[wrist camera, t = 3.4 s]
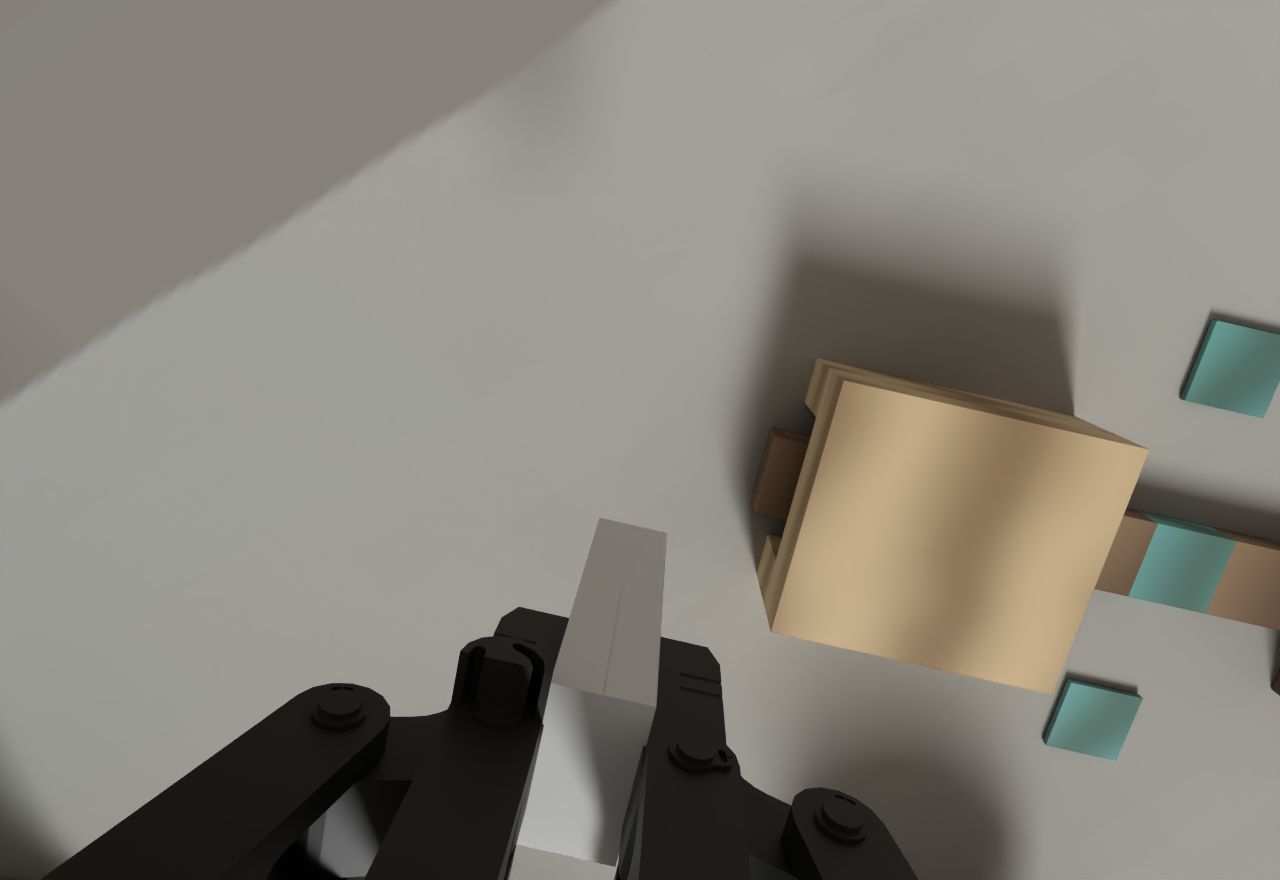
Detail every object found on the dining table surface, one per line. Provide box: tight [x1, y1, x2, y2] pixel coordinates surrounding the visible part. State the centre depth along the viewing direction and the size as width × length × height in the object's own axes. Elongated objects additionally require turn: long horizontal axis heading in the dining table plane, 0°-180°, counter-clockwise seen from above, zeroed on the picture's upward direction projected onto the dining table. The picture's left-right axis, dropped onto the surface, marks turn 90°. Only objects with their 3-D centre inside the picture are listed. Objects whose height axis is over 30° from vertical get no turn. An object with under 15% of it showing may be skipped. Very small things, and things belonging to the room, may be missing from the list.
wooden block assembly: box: [751, 320, 1280, 761], centre depth 29 cm, size 24×18×4 cm
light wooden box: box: [757, 358, 1149, 694], centre depth 29 cm, size 10×9×5 cm
